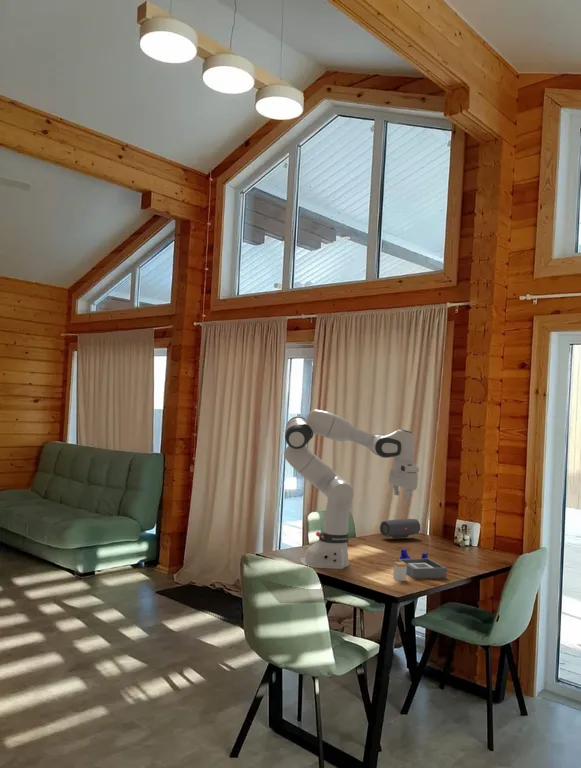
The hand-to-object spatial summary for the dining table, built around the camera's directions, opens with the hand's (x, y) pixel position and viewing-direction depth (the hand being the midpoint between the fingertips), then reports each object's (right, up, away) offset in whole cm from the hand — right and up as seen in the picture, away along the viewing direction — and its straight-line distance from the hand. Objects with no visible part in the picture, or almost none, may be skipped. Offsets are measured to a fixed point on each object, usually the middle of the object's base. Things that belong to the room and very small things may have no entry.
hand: (401, 497), depth 291 cm
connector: (-3, -34, -14) cm, 36 cm away
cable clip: (+8, -35, +18) cm, 40 cm away
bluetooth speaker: (+12, -36, +75) cm, 84 cm away
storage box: (+8, -34, -1) cm, 35 cm away
